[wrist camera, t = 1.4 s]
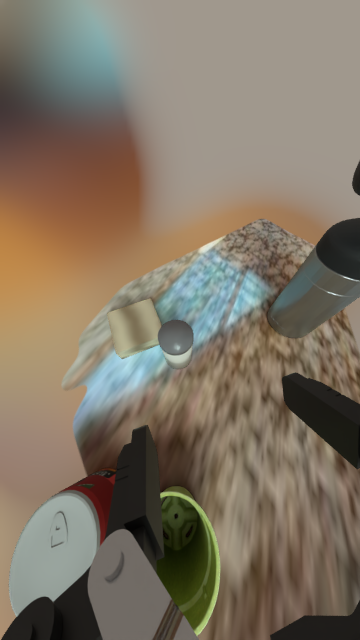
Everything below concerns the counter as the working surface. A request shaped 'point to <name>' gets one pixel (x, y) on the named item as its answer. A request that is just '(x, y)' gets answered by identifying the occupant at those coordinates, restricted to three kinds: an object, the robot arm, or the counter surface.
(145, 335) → the maple base
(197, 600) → the plant pot
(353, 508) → the counter surface
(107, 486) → the canned food
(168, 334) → the spice jar
